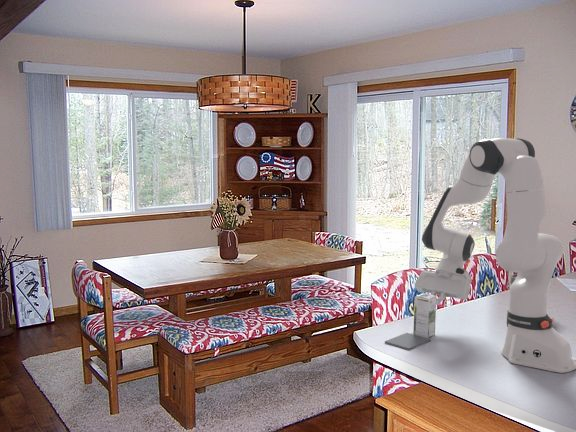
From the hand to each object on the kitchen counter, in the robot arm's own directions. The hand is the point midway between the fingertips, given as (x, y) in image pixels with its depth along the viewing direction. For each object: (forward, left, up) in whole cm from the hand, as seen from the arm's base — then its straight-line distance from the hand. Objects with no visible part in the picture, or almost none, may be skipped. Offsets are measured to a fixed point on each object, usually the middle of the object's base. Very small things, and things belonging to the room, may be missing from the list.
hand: (434, 303), depth 210 cm
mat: (-1, +18, -10) cm, 20 cm away
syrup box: (-1, +8, -10) cm, 13 cm away
